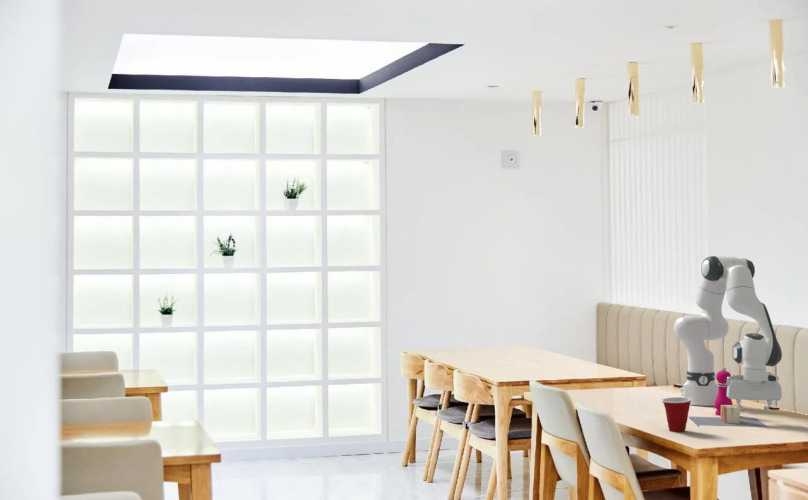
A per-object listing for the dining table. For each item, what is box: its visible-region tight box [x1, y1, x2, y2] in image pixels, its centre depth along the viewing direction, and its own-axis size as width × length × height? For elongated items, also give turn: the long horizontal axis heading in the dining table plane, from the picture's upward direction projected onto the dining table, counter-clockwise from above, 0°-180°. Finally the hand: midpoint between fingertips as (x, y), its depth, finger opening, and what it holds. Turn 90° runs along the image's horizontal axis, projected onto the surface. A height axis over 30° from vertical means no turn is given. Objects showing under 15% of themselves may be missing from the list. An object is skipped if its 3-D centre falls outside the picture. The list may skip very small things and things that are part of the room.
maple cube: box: [720, 404, 741, 423], centre depth 375 cm, size 6×6×6 cm
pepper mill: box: [713, 366, 734, 417], centre depth 391 cm, size 7×7×20 cm
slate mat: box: [688, 416, 769, 428], centre depth 375 cm, size 20×26×1 cm
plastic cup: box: [661, 396, 692, 433], centre depth 356 cm, size 11×11×12 cm
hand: (753, 411), depth 374 cm, fingers open, 8 cm apart
